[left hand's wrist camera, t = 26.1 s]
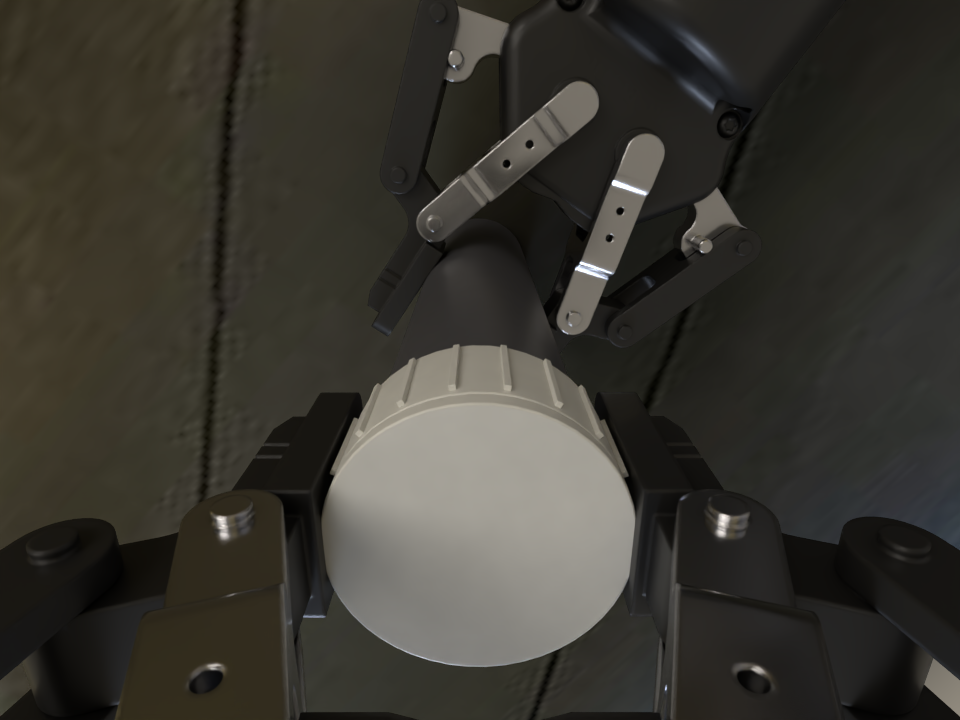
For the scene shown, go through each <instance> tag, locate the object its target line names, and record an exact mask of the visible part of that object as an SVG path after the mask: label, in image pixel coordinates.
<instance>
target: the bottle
mask: <svg viewBox="0 0 960 720" xmlns="http://www.w3.org/2000/svg"><path fill="white" fill-rule="evenodd" d="M444 242H446V245H445V249H444V252H443V255H442V256H441V258H440V259H439V261H438V262H437V264H436V265H435V267H434V268H433V270H432V271H431V272H430V274H429V275H428V277H427V278H426V280H425V282H424V284H423V287H422V289H421V292H420V295H419V298H418V300H417V303H416V306H415V309H414V311H413V314H412V317H411V320H410V322H409V325H408V328H407V331H406V333H405V336H404V339H403V342H402V344H401V347H400V350H399V353H398V355H397V358H396V361H395V364H394V366H393V369H392V372H391V374H390V376H391V375H393V374H394V373H396V372H397V371H398V370H400V369H401V368H403V367H404V366H406V365H407V364H408V362H409V360H410V359H412V358H415V359H416V360H417V359H419V358H421V357H423V356H426V355H429V354H431V353H434V352H437V351H441V350H445V349H449V348H453V345H457V344H459V345H460V347H462V346H471V345H479V346H496V347H500V346H501V345H507V348H509V349H513V350H517V351H520V352H524V353H527V354H529V355H532V356H534V357H537V358H539V359H541V360H543V361H544V360H545V359H548V360H550V361H551V364H552V366H554V367H555V368H557V369H558V370H560V371H561V372H562V373H564V374H565V375H566V376H567V377H568V375H567V372H566V370H565V367H564V364H563V361H562V359H561V356H560V353H559V350H558V348H557V345H556V342H555V339H554V337H553V334H552V331H551V328H550V326H549V323H548V320H547V317H546V315H545V312H544V309H543V307H542V304H541V301H540V298H539V296H538V293H537V290H536V287H535V285H534V282H533V279H532V276H531V274H530V271H529V268H528V265H527V263H526V260H525V257H524V254H523V252H522V249H521V246H520V244H519V242H518V240H517V239H516V237H515V236H514V235H513V234H512V232H510V231H509V230H508V229H507V228H506V227H504V226H503V225H501V224H499V223H498V222H495V221H492V220H488V219H481V218H479V219H469V220H467V221H466V222H465V223H464V224H462V225H461V226H460V227H459V228H458V229H457V230H455V231H454V232H453V233H452V234H451V235H449V236H448V237H447V238H446V239H445V241H444Z"/></svg>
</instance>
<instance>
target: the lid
mask: <svg viewBox="0 0 960 720" xmlns="http://www.w3.org/2000/svg"><path fill="white" fill-rule="evenodd" d="M330 474H331V475H333V476H334V479H333V481H332V483H331V486H330V488H329V491H328V493H327V496H326V498H325V501H324V505H323V510H322V514H321V526H322V536H323V545H324V554H325V563H326V571H327V575H328V577H329V579H330V582H331V584H332V586H333V588H334V590H335V591H336V593H337V595H338V596H339V598H340V600H341V601H342V603H343V604H344V605H345V606H346V608H347V609H348V610H349V611H350V613H351V614H352V615H353V616H354V617H355V618H356V619H357V620H358V621H359V622H360V623H361V624H362V625H363V626H364V627H366V628H367V629H368V630H370V631H371V632H372V633H374V634H375V635H376V636H378V637H379V638H381V639H382V640H384V641H386V642H387V643H389V644H391V645H393V646H394V647H396V648H398V649H401V650H403V651H405V652H407V653H410V654H412V655H415V656H418V657H421V658H424V659H427V660H431V661H435V662H440V663H444V664H450V665H459V666H475V667H488V666H499V665H507V664H513V663H518V662H523V661H527V660H530V659H533V658H537V657H540V656H543V655H545V654H548V653H550V652H553V651H555V650H557V649H559V648H561V647H563V646H565V645H567V644H569V643H570V642H572V641H574V640H576V639H577V638H578V637H580V636H581V635H583V634H584V633H585V632H587V631H588V630H590V629H591V628H592V627H593V626H594V625H595V624H596V623H597V622H598V621H600V620H601V619H602V618H603V617H604V615H605V614H606V613H607V612H608V611H609V610H610V608H611V607H612V606H613V605H614V603H615V602H616V600H617V599H618V597H619V596H620V594H621V593H622V591H623V589H624V587H625V585H626V583H627V581H628V579H629V573H630V565H631V556H632V546H633V537H634V528H635V517H636V514H635V507H634V503H633V500H632V497H631V495H630V492H629V489H628V487H627V484H626V482H625V479H624V478H625V477H628V476H629V475H628V472H627V470H626V468H625V465H624V463H623V461H622V458H621V456H620V454H619V452H618V449H617V447H616V445H615V442H614V440H613V438H612V435H611V433H610V431H609V428H608V426H607V424H606V422H605V420H601V421H600V419H599V417H598V415H597V413H596V411H595V409H594V407H593V406H592V404H591V402H590V400H589V397H588V395H587V392H586V390H585V388H584V387H583V386H582V385H580V386H579V387H578V386H577V385H576V384H575V383H574V382H573V381H572V380H571V379H570V378H569V377H567V376H566V375H565V374H564V373H562V372H561V371H560V370H558V369H557V368H555V367H554V366H552V364H551V361H550V360H548V359H545V360H544V361H543V360H541V359H539V358H537V357H534V356H532V355H529V354H527V353H524V352H520V351H517V350H513V349H509V348H507V345H501V346H500V347H496V346H479V345H471V346H462V347H460V345H459V344H457V345H453V348H449V349H445V350H441V351H437V352H434V353H431V354H429V355H426V356H423V357H421V358H419V359H417V360H416V359H415V358H412V359H410V360H409V362H408V364H407V365H406V366H404V367H403V368H401V369H400V370H398V371H397V372H396V373H394V374H393V375H391V376H390V377H389V378H388V379H387V380H386V381H385V382H384V383H383V384H382V385H380V384H377V385H376V386H375V387H374V389H373V391H372V394H371V396H370V398H369V401H368V402H367V404H366V406H365V407H364V409H363V411H362V413H361V415H360V417H359V419H357V418H354V419H353V421H352V424H351V426H350V428H349V430H348V433H347V435H346V437H345V439H344V442H343V444H342V446H341V449H340V451H339V453H338V455H337V458H336V460H335V462H334V464H333V467H332V469H331V471H330Z"/></svg>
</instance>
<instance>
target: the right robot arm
mask: <svg viewBox="0 0 960 720" xmlns="http://www.w3.org/2000/svg"><path fill="white" fill-rule="evenodd" d="M845 1H846V0H541V1H540V2H538V3H537V4H536V5H535V6H533V7H531V8H530V9H528V10H526V11H524V12H522V13H521V14H519V15H518V16H516V17H515V18H514V19H513V20H512V21H511V22H510V24H508V23H505V22H502V21H499V20H496V19H494V18H491V17H488V16H485V15H482V14H479V13H476V12H473V11H470V10H468V9H465V8H462V7H459V6H458V5H457V3H456V1H455V0H421V1H420V3H419V6H418V10H417V15H416V19H415V23H414V27H413V32H412V36H411V40H410V45H409V49H408V53H407V57H406V62H405V66H404V70H403V74H402V79H401V83H400V87H399V92H398V96H397V100H396V104H395V109H394V113H393V117H392V121H391V126H390V130H389V134H388V139H387V143H386V147H385V151H384V156H383V160H382V164H381V168H380V179H381V182H382V184H383V185H384V187H385V188H386V189H387V190H388V191H390V192H392V193H393V195H394V196H395V197H396V199H397V200H398V201H399V203H400V204H401V205H402V207H403V208H404V210H405V211H406V213H407V216H408V221H409V226H408V230H407V233H406V235H405V237H404V238H403V240H402V241H401V243H400V245H399V246H398V248H397V249H396V251H395V252H394V254H393V256H392V257H391V259H390V260H389V262H388V263H387V265H386V267H385V268H384V270H383V271H382V273H381V274H380V276H379V278H378V279H377V281H376V282H375V284H374V286H373V287H372V289H371V290H370V295H369V301H368V306H370V307H371V308H373V309H374V310H376V311H378V312H379V313H378V315H377V317H376V319H375V320H374V322H373V324H372V327H373V328H375V329H377V330H378V331H380V332H381V333H383V334H385V335H386V336H389V334H390V333H391V332H392V330H393V329H394V327H395V326H396V324H397V323H398V321H399V320H400V318H401V317H402V315H403V314H404V312H405V311H406V309H407V308H408V306H409V305H410V303H411V301H412V300H413V298H414V297H415V295H416V294H417V292H418V291H419V289H420V288H421V286H422V285H423V283H424V282H425V280H426V278H427V277H428V275H429V274H430V272H431V271H432V270H433V268H434V267H435V265H436V264H437V262H438V261H439V259H440V258H441V256H442V255H443V252H444V249H445V245H446V242H444V241H445V239H446V238H447V237H448V236H449V235H451V234H452V233H453V232H454V231H455V230H457V229H458V228H459V227H460V226H461V225H462V224H464V223H465V222H466V221H467V220H468V219H470V218H471V217H472V216H473V215H474V214H476V213H477V212H478V211H479V210H480V209H482V208H483V207H484V206H485V205H487V204H489V203H490V202H492V201H493V200H494V199H496V198H497V197H498V196H499V195H501V194H502V193H503V192H504V191H505V190H507V189H508V188H509V187H510V186H511V185H513V184H514V183H515V182H516V181H518V182H519V183H521V184H522V185H523V186H525V187H526V188H527V189H529V190H530V191H532V192H534V193H536V194H539V195H542V196H544V197H547V198H550V199H553V200H554V202H555V203H556V204H557V205H558V207H559V208H560V209H561V210H562V212H563V213H564V214H565V215H566V216H567V217H568V218H570V219H571V220H572V221H573V222H575V223H574V226H573V228H572V231H571V234H570V236H569V239H568V242H567V246H566V253H565V257H564V260H563V262H562V265H561V268H560V270H559V273H558V276H557V278H556V281H555V284H554V286H553V289H552V292H551V294H550V297H549V300H548V301H547V302H546V304H545V305H544V306H543V309H544V312H545V315H546V317H547V320H548V323H549V326H550V328H551V331H552V334H553V337H554V339H555V342H556V345H557V348H558V350H559V353H561V351H562V350H563V349H564V347H565V346H566V345H567V344H568V343H569V342H570V341H571V340H572V339H574V338H575V337H578V336H582V335H590V336H594V337H598V338H602V339H607V340H610V342H611V343H612V344H613V345H615V346H617V347H620V348H626V347H630V346H632V345H634V344H635V343H637V342H638V341H640V340H641V339H642V338H644V337H645V336H647V335H648V334H650V333H651V332H653V331H654V330H655V329H657V328H658V327H660V326H661V325H663V324H664V323H665V322H667V321H668V320H670V319H671V318H673V317H674V316H675V315H677V314H678V313H680V312H681V311H683V310H684V309H686V308H687V307H688V306H690V305H691V304H693V303H694V302H696V301H697V300H698V299H700V298H701V297H703V296H704V295H706V294H707V293H708V292H710V291H711V290H713V289H714V288H716V287H717V286H719V285H720V284H721V283H723V282H724V281H726V280H727V279H729V278H730V277H731V276H733V275H734V274H736V273H737V272H739V271H740V270H741V269H743V268H744V267H746V266H747V265H749V264H750V263H752V262H753V261H754V260H755V259H756V258H757V257H758V256H759V254H760V252H761V249H762V241H761V238H760V236H759V235H758V234H757V233H756V232H754V231H752V230H749V229H747V228H746V227H744V226H742V225H741V224H740V223H739V221H738V220H737V218H736V217H735V215H734V213H733V212H732V210H731V209H730V207H729V205H728V204H727V202H726V201H725V199H724V197H723V196H722V194H721V193H720V191H719V189H718V188H717V186H718V185H719V183H720V181H721V179H722V177H723V173H724V168H725V164H726V160H727V156H728V154H729V151H730V149H731V147H732V145H733V143H734V141H735V140H736V138H737V137H738V136H739V134H740V133H741V132H742V131H743V130H744V129H745V128H746V126H747V125H748V124H749V123H750V122H751V121H752V119H753V118H754V117H755V116H756V114H757V113H758V112H759V111H760V109H761V108H762V107H763V105H764V104H765V103H766V102H767V100H768V99H769V98H770V96H771V95H772V94H773V93H774V91H775V90H776V89H777V87H778V86H779V85H780V84H781V82H782V81H783V80H784V79H785V77H786V76H787V75H788V73H789V72H790V71H791V70H792V68H793V67H794V66H795V64H796V63H797V62H798V61H799V59H800V58H801V57H802V56H803V54H804V53H805V52H806V50H807V49H808V48H809V47H810V45H811V44H812V43H813V41H814V40H815V39H816V38H817V36H818V35H819V34H820V32H821V31H822V30H823V29H824V27H825V26H826V25H827V24H828V22H829V21H830V20H831V18H832V17H833V16H834V15H835V13H836V12H837V11H838V10H839V8H840V7H841V6H842V4H843V3H844V2H845ZM489 57H495V58H499V100H500V139H499V140H498V141H497V142H496V143H495V144H493V145H492V146H491V147H490V148H489V149H488V150H487V151H485V152H484V153H483V154H482V155H481V156H480V157H478V158H477V159H476V160H475V161H474V162H473V163H472V164H470V165H469V166H468V167H467V168H466V169H465V170H464V171H463V172H462V173H461V174H459V175H458V176H457V177H456V178H455V179H454V180H452V181H451V182H450V183H449V184H448V185H447V186H446V187H444V188H443V189H442V190H441V191H440V189H439V188H438V186H437V185H436V184H435V182H434V181H433V179H432V178H431V177H430V175H429V174H428V172H427V171H426V170H425V167H426V163H427V159H428V155H429V151H430V147H431V143H432V139H433V136H434V132H435V128H436V124H437V120H438V116H439V112H440V109H441V105H442V101H443V97H444V93H445V89H446V85H447V82H450V83H453V84H461V83H464V82H466V81H467V80H469V79H470V78H471V76H472V75H473V73H474V70H475V68H476V66H477V65H478V64H479V63H480V62H481V61H482V60H484V59H486V58H489ZM503 161H504V163H503ZM684 207H688V214H687V218H686V220H685V222H684V223H683V224H682V225H681V226H680V227H679V228H678V229H677V231H676V232H675V235H674V238H673V243H674V247H675V248H674V249H673V250H671V251H670V252H669V253H667V254H666V255H664V256H663V257H662V258H660V259H659V260H658V261H656V262H655V263H653V264H652V265H651V266H649V267H648V268H646V269H645V270H644V271H642V272H641V273H640V274H638V275H637V276H635V277H634V278H633V279H631V280H630V281H629V282H627V283H626V284H624V285H623V286H622V287H620V288H619V289H618V290H616V291H615V292H613V293H612V294H611V295H609V296H608V297H607V298H606V297H602V296H601V295H602V292H603V290H604V287H605V285H606V282H607V280H608V279H609V278H610V277H611V276H612V275H613V274H614V272H615V270H616V268H617V266H618V264H619V261H620V259H621V256H622V254H623V251H624V249H625V247H626V244H627V242H628V239H629V237H630V234H631V232H632V229H633V227H634V225H636V224H638V223H641V222H644V221H647V220H650V219H653V218H655V217H658V216H661V215H664V214H667V213H670V212H672V211H675V210H678V209H681V208H684ZM609 234H610V238H609V239H606V237H607V235H609Z"/></svg>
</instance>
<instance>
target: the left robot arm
mask: <svg viewBox="0 0 960 720" xmlns="http://www.w3.org/2000/svg"><path fill="white" fill-rule="evenodd" d="M594 409H595V411H596V413H597V415H598V417H599V419H600V421H601V420H605V422H606V424H607V426H608V428H609V431H610V433H611V435H612V438H613V440H614V442H615V445H616V447H617V449H618V452H619V454H620V456H621V458H622V461H623V463H624V465H625V468H626V470H627V472H628V475H629V476H628V477H625V478H624V479H625V482H626V484H627V487H628V489H629V492H630V495H631V497H632V500H633V503H634V507H635V514H636V517H635V528H634V537H633V546H632V556H631V565H630V573H629V579H628V581H627V583H626V585H625V587H624V589H623V594H624V597H625V600H626V604H627V607H628V610H629V613H630V616H653V619H654V622H655V625H656V628H657V630H658V633H659V641H658V648H657V660H656V674H655V687H654V700H653V712H571V713H567V714H563V715H559V716H555V717H551V718H547V719H543V720H960V717H959V716H958V715H957V714H956V713H955V712H954V711H953V710H952V709H951V708H950V707H948V706H947V705H946V704H945V703H944V702H943V701H942V700H941V699H939V698H938V697H937V696H936V695H935V694H934V693H933V692H932V691H931V690H929V689H928V688H927V687H926V686H925V685H924V683H925V680H926V677H927V674H928V672H929V669H930V666H931V663H932V660H933V658H934V659H935V660H937V661H938V662H939V663H940V664H941V665H942V666H944V667H945V668H946V669H947V670H948V671H950V672H951V673H952V674H953V675H954V676H956V677H957V678H958V679H959V680H960V550H958V549H957V548H955V547H954V546H952V545H950V544H949V543H947V542H946V541H944V540H943V539H941V538H939V537H938V536H936V535H934V534H932V533H930V532H928V531H926V530H924V529H922V528H919V527H917V526H914V525H911V524H908V523H905V522H902V521H898V520H894V519H889V518H883V517H860V518H856V519H852V520H850V521H848V522H847V523H846V524H845V525H844V527H843V529H842V533H841V537H840V541H839V544H838V545H836V544H831V543H826V542H821V541H816V540H811V539H806V538H800V537H795V536H791V535H787V534H783V533H781V529H780V524H779V522H778V519H777V518H776V516H775V515H774V514H773V513H772V512H771V511H770V510H769V509H768V508H767V507H765V506H764V505H762V504H761V503H759V502H758V501H756V500H754V499H752V498H749V497H747V496H744V495H742V494H738V493H735V492H731V491H726V490H724V489H723V488H722V486H721V485H720V483H719V482H718V480H717V479H716V477H715V476H714V474H713V473H712V471H711V470H710V468H709V467H708V465H707V464H706V462H705V461H704V460H703V458H700V454H699V452H698V451H697V449H696V448H695V446H692V442H691V440H690V439H689V437H688V436H687V434H686V433H685V431H684V430H683V429H682V428H681V427H679V426H678V425H676V424H675V423H673V422H672V421H670V420H668V419H667V418H665V417H664V416H650V415H649V413H648V411H647V410H646V408H645V406H644V405H643V403H642V401H641V400H640V398H639V396H638V395H637V393H635V392H598V393H597V395H596V399H595V407H594ZM362 411H363V408H362V400H361V396H360V394H359V393H320V395H319V396H318V398H317V399H316V401H315V403H314V404H313V406H312V408H311V409H310V411H309V413H308V414H307V416H306V417H292V418H290V419H289V420H287V421H286V422H284V423H283V424H281V425H280V426H278V427H276V428H275V429H274V430H273V431H272V433H271V434H270V436H269V437H268V438H267V440H266V441H265V443H264V446H262V447H261V449H260V450H259V452H258V453H257V454H256V459H253V460H252V462H251V463H250V465H249V466H248V468H247V469H246V470H245V472H244V473H243V475H242V476H241V478H240V479H239V481H238V482H237V484H236V485H235V486H234V488H233V489H232V491H229V492H225V493H222V494H218V495H216V496H213V497H211V498H208V499H206V500H204V501H202V502H201V503H199V504H198V505H196V506H195V507H193V508H192V509H191V510H190V511H189V512H188V513H187V514H186V515H185V516H184V518H183V519H182V522H181V524H180V529H179V532H178V533H175V534H171V535H168V536H163V537H159V538H154V539H149V540H144V541H139V542H134V543H128V544H123V545H119V543H118V539H117V535H116V531H115V529H114V527H113V526H112V525H111V524H110V523H108V522H106V521H104V520H100V519H93V518H81V519H72V520H66V521H62V522H58V523H54V524H51V525H48V526H45V527H42V528H40V529H37V530H35V531H33V532H31V533H28V534H26V535H24V536H23V537H21V538H19V539H18V540H16V541H14V542H13V543H11V544H9V545H8V546H6V547H5V548H3V549H2V550H0V680H1V679H2V678H3V677H4V676H6V675H7V674H8V673H9V672H10V671H12V670H13V669H14V668H15V667H16V666H18V665H19V664H20V663H21V662H22V665H23V667H24V670H25V673H26V676H27V679H28V681H29V684H30V687H31V690H29V691H28V692H27V693H26V694H25V695H24V696H23V697H22V698H21V699H19V700H18V701H17V702H16V703H15V704H14V705H13V706H12V707H10V708H9V709H8V710H7V711H6V712H5V713H4V714H3V715H2V716H0V720H417V719H413V718H409V717H405V716H401V715H397V714H393V713H389V712H307V700H306V687H305V674H304V660H303V648H302V641H301V634H300V624H301V622H302V619H303V617H326V614H327V611H328V608H329V605H330V601H331V598H332V595H333V592H334V588H333V586H332V584H331V582H330V579H329V577H328V575H327V571H326V563H325V554H324V545H323V536H322V526H321V514H322V510H323V505H324V501H325V498H326V496H327V493H328V491H329V488H330V486H331V483H332V481H333V479H334V476H333V475H331V474H330V471H331V469H332V467H333V464H334V462H335V460H336V458H337V455H338V453H339V451H340V449H341V446H342V444H343V442H344V439H345V437H346V435H347V433H348V430H349V428H350V426H351V424H352V421H353V419H354V418H357V419H359V417H360V415H361V413H362Z"/></svg>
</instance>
